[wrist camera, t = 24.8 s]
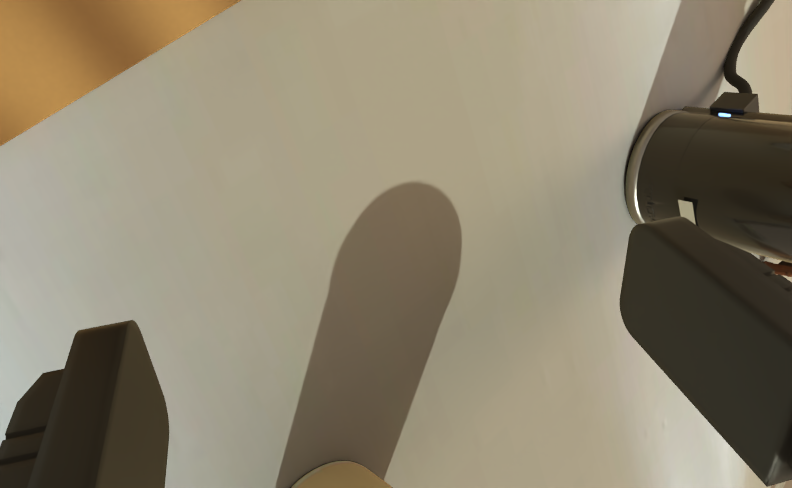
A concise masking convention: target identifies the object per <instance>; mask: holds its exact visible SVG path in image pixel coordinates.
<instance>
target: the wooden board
mask: <svg viewBox="0 0 792 488" xmlns="http://www.w3.org/2000/svg"><path fill="white" fill-rule="evenodd" d="M239 1H241V0H0V146H1V145H3V144H5V143H6V142H8V141H10V140H11V139H13V138H14V137H16V136H18V135H19V134H21V133H23V132H24V131H26V130H28V129H29V128H31V127H33V126H34V125H36V124H38V123H39V122H41V121H43V120H44V119H46V118H47V117H49V116H51V115H52V114H54V113H56V112H57V111H59V110H61V109H62V108H64V107H66V106H67V105H69V104H71V103H72V102H74V101H76V100H77V99H79V98H81V97H82V96H84V95H85V94H87V93H89V92H90V91H92V90H94V89H95V88H97V87H99V86H100V85H102V84H104V83H105V82H107V81H109V80H110V79H112V78H114V77H115V76H117V75H119V74H120V73H122V72H123V71H125V70H127V69H128V68H130V67H132V66H133V65H135V64H137V63H138V62H140V61H142V60H143V59H145V58H147V57H148V56H150V55H152V54H153V53H155V52H157V51H158V50H160V49H161V48H163V47H165V46H166V45H168V44H170V43H171V42H173V41H175V40H176V39H178V38H180V37H181V36H183V35H185V34H186V33H188V32H190V31H191V30H193V29H195V28H196V27H198V26H199V25H201V24H203V23H204V22H206V21H208V20H209V19H211V18H213V17H214V16H216V15H218V14H219V13H221V12H223V11H224V10H226V9H228V8H229V7H231V6H233V5H234V4H236V3H237V2H239Z"/></svg>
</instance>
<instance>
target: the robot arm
mask: <svg viewBox="0 0 792 488" xmlns="http://www.w3.org/2000/svg"><path fill="white" fill-rule="evenodd" d="M774 1H775V0H762V1H761V2H760V3H759V5H758V6H757V7H756V9H755V10H754V11H753V13H752V14H751V15H750V16H749V18H748V19H747V20H746V22H745V23H744V24H743V26H742V27H741V28H740V30H739V32H738V34H737V36H736V38H735V40H734V42H733V44H732V46H731V48H730V50H729V52H728V55H727V57H726V60H725V64H724V77H725V79H726V80H727V81H728V82H729V83H730V84H731V85H732V86H734V87H735V88H737V89H738V91H739V93H731V92H724V93H723V94H722V95H721V96H720V97H719V98H718V99H717V100H716V101H715V102H714V103H713V104H712V105H711V106H710V108H698V107H686V106H685V107H684V108H683V109H682V110H681V111H680V110H666V111H663V112H661V113H659V114H658V115H656V116H655V117H654V118H653V119H652V120H651V121H650V122H649V123H648V124H647V125H646V127H645V128H644V129H643V131H642V132H641V134H640V136H639V138H638V140H637V142H636V144H635V146H634V149H633V151H632V154H631V157H630V161H629V165H628V169H627V175H626V189H625V190H626V202H627V207H628V210H629V213H630V215H631V217H632V219H633V220H634V221H635V222H636V223H637V224H638V225H636V226H635V227H634V228H633V229H632V231H631V233H630V236H629V242H628V248H627V255H626V262H625V268H624V275H623V281H622V288H621V295H620V311H621V316H622V319H623V322H624V324H625V326H626V328H627V330H628V332H629V333H630V334H631V336H632V337H633V338H634V339H635V340H636V341H637V342H638V344H639V345H640V346H641V347H642V348H643V349H644V350H645V351H646V352H647V354H648V355H649V356H650V357H651V358H652V359H653V360H654V361H655V363H656V364H657V365H658V366H659V367H660V368H661V369H662V370H663V371H664V373H665V374H666V375H667V376H668V377H669V378H670V379H671V380H672V381H673V383H674V384H675V385H676V386H677V387H678V388H679V389H680V390H681V391H682V393H683V394H684V395H685V396H686V397H687V398H688V399H689V400H690V401H691V403H692V404H693V405H694V406H695V407H696V408H697V409H698V410H699V412H700V413H701V414H702V415H703V416H704V417H705V418H706V419H707V420H708V422H709V423H710V424H711V425H712V426H713V427H714V428H715V429H716V430H717V432H718V433H719V434H720V435H721V436H722V437H723V438H724V439H725V440H726V442H727V443H728V444H729V445H730V446H731V447H732V448H733V449H734V451H735V452H736V453H737V454H738V455H739V456H740V457H741V458H742V459H743V461H744V462H745V463H746V464H747V465H748V466H749V467H750V468H751V469H752V471H753V472H754V473H755V474H756V475H757V476H758V477H759V478H760V479H761V481H762V482H763V483H764V484H765V485H766V486H771V485H774V484H778V483H781V482H785V481H788V480H792V283H791V282H790V281H789V280H787V279H786V278H784V277H783V276H782V275H780V274H779V275H776V274H775V270H773V269H772V268H770V267H769V266H768V265H766V264H765V263H763V262H762V261H760V260H759V259H758V258H756V257H755V256H753V255H752V254H751V253H753V254H757V255H761V256H765V257H769V258H773V259H777V260H781V261H785V262H789V263H792V115H782V114H770V113H759V103H758V94H752V90H751V87H750V85H749V83H748V82H747V81H746V80H745V79H743V78H742V77H740V76H739V75H737V73H736V61H737V57H738V53H739V51H740V49H741V47H742V45H743V43H744V41H745V40H746V38H747V37H748V35H749V34H750V33H751V31H752V30H753V29H754V27H755V26H756V25H757V23H758V22H759V21H760V19H761V18H762V17H763V16H764V14H765V13H766V12H767V10H768V9H769V8H770V6H771V5H772V3H773V2H774ZM5 435H6V440H3V441H2V444H1V446H0V488H165V477H166V465H167V454H168V443H169V421H168V413H167V407H166V403H165V399H164V395H163V392H162V390H161V387H160V384H159V381H158V378H157V376H156V373H155V370H154V367H153V365H152V362H151V359H150V356H149V353H148V351H147V348H146V345H145V342H144V340H143V337H142V334H141V331H140V329H139V327H138V325H137V324H136V322H135V321H133V320H130V321H125V322H120V323H115V324H109V325H104V326H99V327H94V328H89V329H83V330H79V331H78V332H77V333H76V334H75V337H74V340H73V343H72V346H71V349H70V352H69V356H68V359H67V362H66V365H65V368H64V369H61V370H56V371H51V372H46V373H43V374H42V375H41V376H40V377H39V378H38V380H37V381H36V382H35V383H34V384H33V385H32V386H31V388H30V389H29V390H28V391H27V392H26V393H25V394H24V396H23V397H22V398H21V399H20V400H19V401H18V402H17V404H16V407H15V410H14V412H13V415H12V418H11V420H10V423H9V425H8V428H7V431H6V433H5Z"/></svg>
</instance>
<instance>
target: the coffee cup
mask: <svg viewBox="0 0 792 488" xmlns="http://www.w3.org/2000/svg"><path fill="white" fill-rule="evenodd" d="M291 488H393V487H391V486H390V485H389V484H387V483H386V482H385V481H383V480H382V479H381V478H379V477H378V476H377V475H375V474H374V473H372V472H371V471H369V470H368V469H367V468H365V467H364V466H362V465H360V464H358V463H355V462H352V461H335V462H331V463H328V464H325V465H322V466H320V467H318V468H316V469H314V470H312V471H311V472H309V473H307V474H306V475H305V476H303V477H302V478H301V479H300V480H298V481H297V482H296V483H295V484H294V485H293V486H292V487H291Z"/></svg>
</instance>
